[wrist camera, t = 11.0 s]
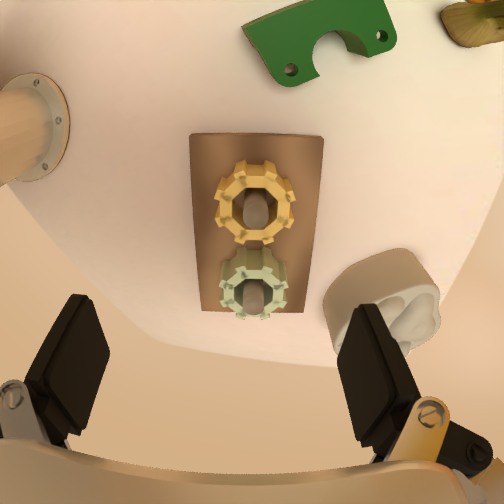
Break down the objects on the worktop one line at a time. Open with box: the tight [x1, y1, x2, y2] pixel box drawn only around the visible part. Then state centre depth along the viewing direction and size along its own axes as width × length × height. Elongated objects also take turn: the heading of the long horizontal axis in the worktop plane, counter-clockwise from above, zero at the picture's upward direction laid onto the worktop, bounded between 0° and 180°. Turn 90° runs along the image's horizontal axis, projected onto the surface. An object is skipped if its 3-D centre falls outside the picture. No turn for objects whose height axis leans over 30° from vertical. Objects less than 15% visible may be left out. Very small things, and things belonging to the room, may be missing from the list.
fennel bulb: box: [441, 0, 504, 48], centre depth 15 cm, size 6×5×12 cm
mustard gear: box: [214, 160, 296, 245], centre depth 27 cm, size 7×7×4 cm
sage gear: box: [219, 246, 289, 320], centre depth 32 cm, size 7×7×4 cm
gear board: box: [189, 133, 324, 315], centre depth 29 cm, size 12×20×7 cm, turn 179°
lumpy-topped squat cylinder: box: [323, 248, 441, 358], centre depth 33 cm, size 10×13×9 cm
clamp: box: [241, 0, 397, 87], centre depth 20 cm, size 12×6×9 cm, turn 112°
